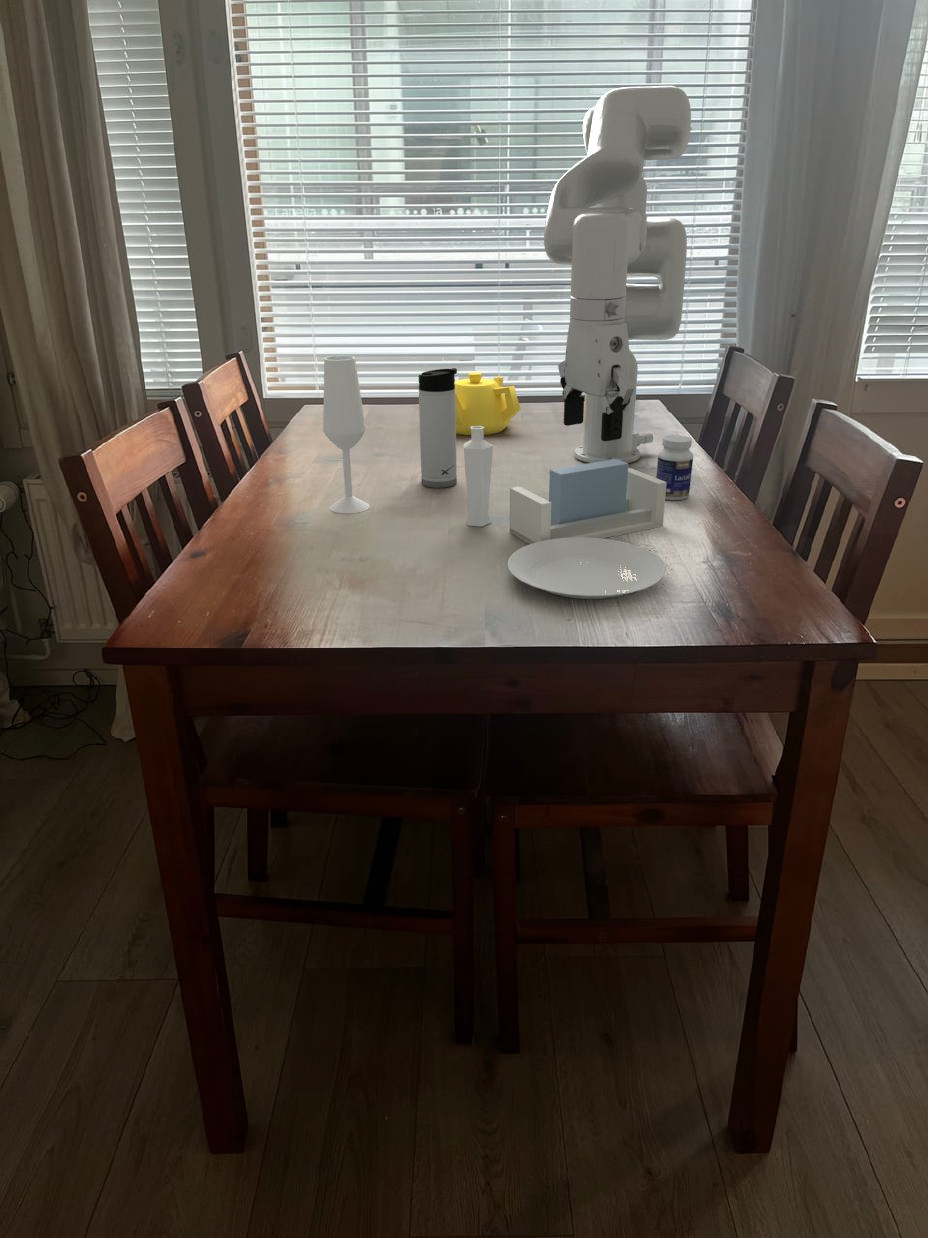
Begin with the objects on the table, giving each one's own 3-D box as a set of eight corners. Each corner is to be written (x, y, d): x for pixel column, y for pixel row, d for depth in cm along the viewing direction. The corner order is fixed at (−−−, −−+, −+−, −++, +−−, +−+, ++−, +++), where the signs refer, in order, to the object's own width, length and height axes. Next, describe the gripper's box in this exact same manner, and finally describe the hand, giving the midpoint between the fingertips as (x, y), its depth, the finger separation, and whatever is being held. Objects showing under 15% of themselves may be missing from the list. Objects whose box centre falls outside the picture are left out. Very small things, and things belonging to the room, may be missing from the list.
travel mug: (454, 489, 159) (452, 372, 150) (417, 487, 160) (413, 371, 152) (461, 479, 164) (460, 365, 156) (426, 477, 166) (422, 364, 157)
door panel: (613, 515, 143) (616, 458, 139) (624, 520, 140) (628, 463, 136) (548, 527, 138) (549, 469, 134) (558, 533, 135) (560, 474, 132)
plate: (554, 623, 110) (554, 606, 109) (482, 565, 127) (482, 550, 126) (697, 594, 117) (699, 578, 116) (610, 543, 134) (611, 528, 133)
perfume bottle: (496, 519, 144) (496, 424, 138) (487, 528, 140) (487, 431, 134) (468, 516, 145) (467, 422, 139) (459, 525, 142) (458, 429, 135)
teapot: (522, 435, 194) (523, 377, 189) (445, 440, 191) (444, 382, 186) (501, 418, 209) (502, 364, 204) (430, 422, 206) (428, 368, 201)
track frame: (627, 510, 147) (630, 467, 144) (662, 526, 140) (666, 482, 137) (509, 532, 138) (510, 487, 135) (540, 550, 131) (541, 504, 128)
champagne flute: (321, 510, 149) (309, 360, 139) (341, 499, 154) (331, 353, 144) (358, 515, 146) (348, 362, 136) (376, 503, 152) (369, 355, 142)
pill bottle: (677, 503, 150) (683, 444, 146) (648, 496, 154) (652, 438, 150) (695, 495, 154) (701, 437, 150) (666, 489, 158) (671, 432, 153)
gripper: (658, 315, 120) (648, 442, 128) (585, 300, 134) (580, 415, 142) (611, 320, 117) (604, 450, 125) (541, 304, 131) (539, 422, 139)
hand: (591, 431), depth 134 cm, fingers open, 9 cm apart
